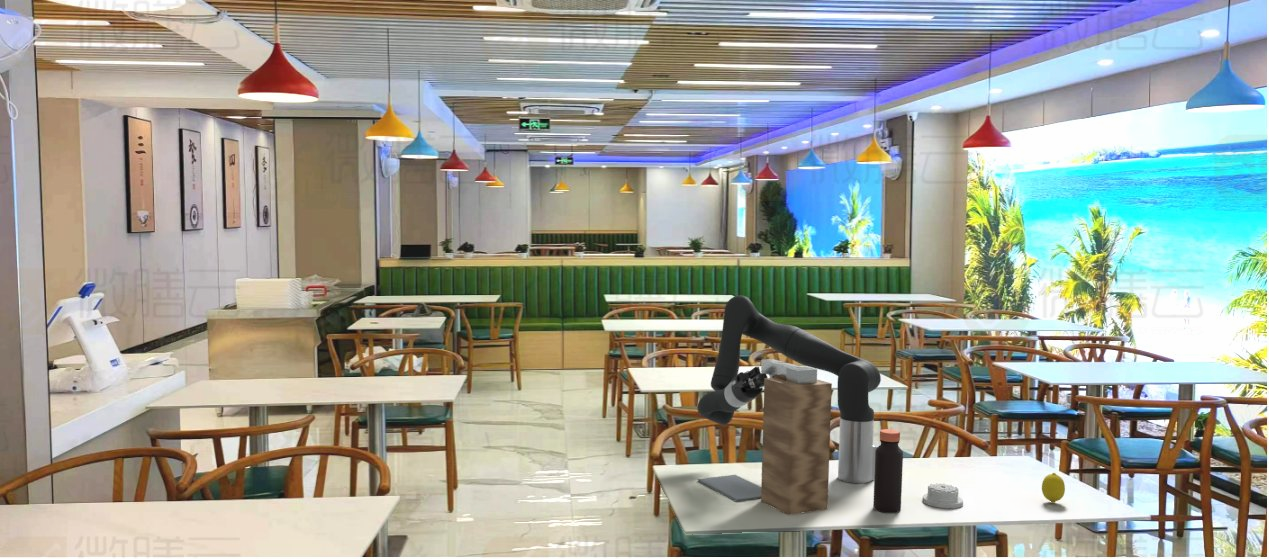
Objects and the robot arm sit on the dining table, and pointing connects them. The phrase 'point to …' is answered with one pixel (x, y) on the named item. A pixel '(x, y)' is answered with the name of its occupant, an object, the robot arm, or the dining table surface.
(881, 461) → the bottle
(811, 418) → the tall wooden block
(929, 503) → the grey cake on plate
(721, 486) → the mat
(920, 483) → the dining table surface
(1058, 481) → the lemon
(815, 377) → the grey block
